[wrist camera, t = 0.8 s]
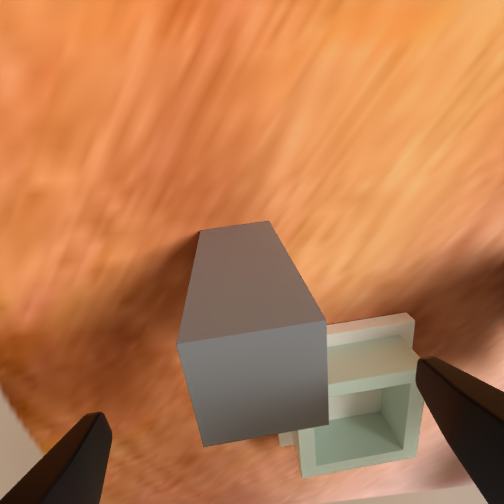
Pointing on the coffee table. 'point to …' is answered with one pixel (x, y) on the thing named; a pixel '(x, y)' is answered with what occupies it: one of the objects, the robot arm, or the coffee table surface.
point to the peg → (251, 339)
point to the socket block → (365, 398)
